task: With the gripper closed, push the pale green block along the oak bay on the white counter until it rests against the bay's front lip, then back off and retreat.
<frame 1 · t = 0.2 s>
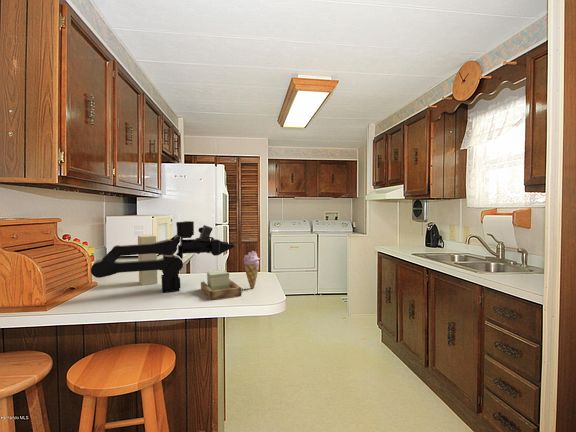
hand: (231, 244, 150), 16 cm above the countertop, tool horizontal, fingers open, 9 cm apart
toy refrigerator: (149, 283, 155), on the countertop
pale green block: (218, 280, 138), point 4 cm above the countertop, slide at 0.0 cm
ice cream cone: (253, 289, 140), on the countertop
bay: (220, 292, 135), on the countertop
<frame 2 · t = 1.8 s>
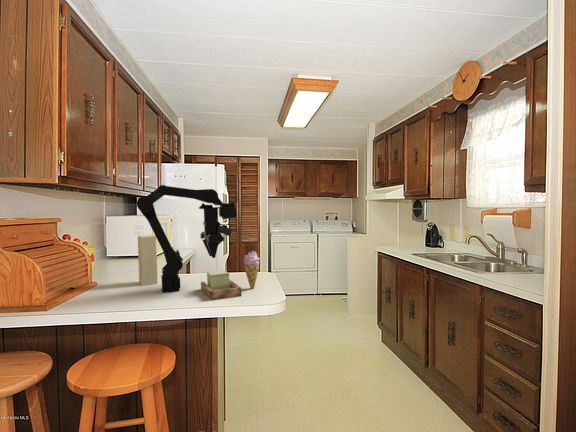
hand: (212, 257, 146), 12 cm above the countertop, tool pointing down, fingers open, 5 cm apart
nothing on the countertop moved.
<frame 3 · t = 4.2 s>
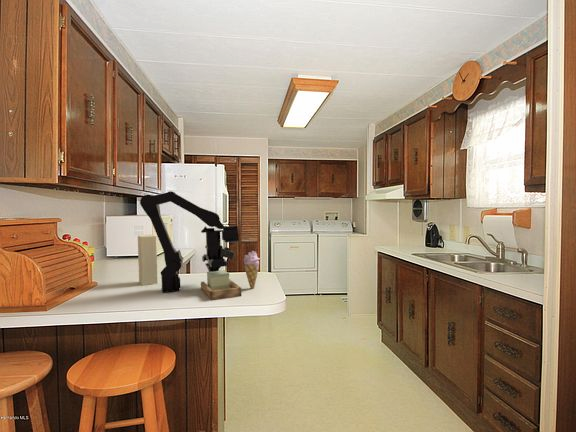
hand: (214, 281, 144), 3 cm above the countertop, tool pointing down, fingers closed
pale green block: (218, 280, 138), point 4 cm above the countertop, slide at 0.0 cm, touching gripper
everything else where it was.
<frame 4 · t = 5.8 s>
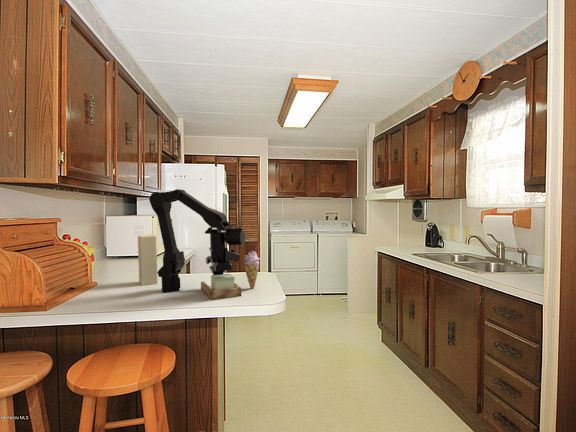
hand: (219, 284, 137), 3 cm above the countertop, tool pointing down, fingers closed
pale green block: (222, 284, 131), point 4 cm above the countertop, slide at 7.6 cm, touching bay, gripper
everything else where it was.
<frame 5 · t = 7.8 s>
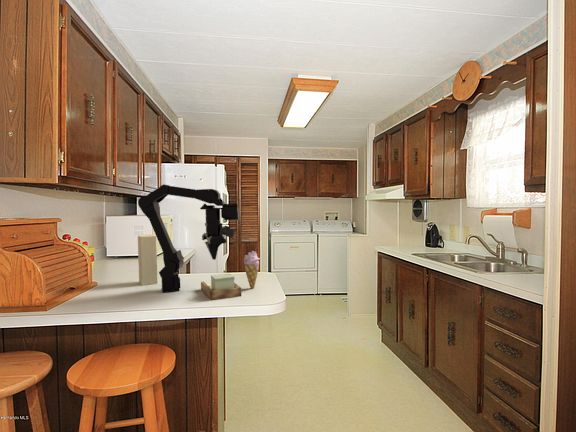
hand: (214, 259, 140), 12 cm above the countertop, tool pointing down, fingers closed
pale green block: (222, 284, 131), point 4 cm above the countertop, slide at 7.6 cm, touching bay
everything else where it was.
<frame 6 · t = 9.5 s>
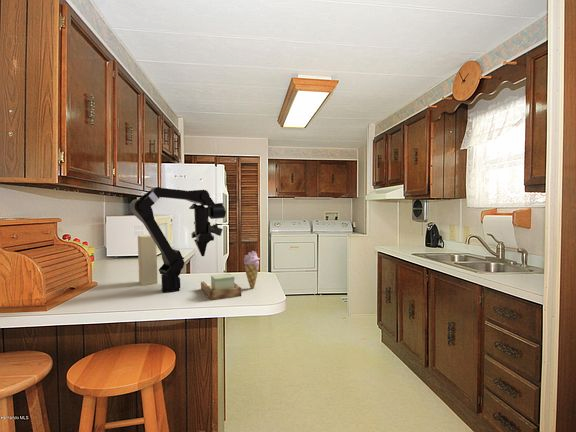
hand: (202, 256, 149), 12 cm above the countertop, tool pointing down, fingers closed
nothing on the countertop moved.
at the end: pale green block slide at 7.6 cm; the gripper is holding nothing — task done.
